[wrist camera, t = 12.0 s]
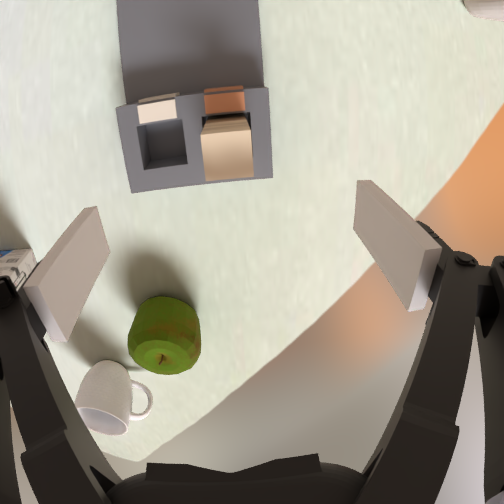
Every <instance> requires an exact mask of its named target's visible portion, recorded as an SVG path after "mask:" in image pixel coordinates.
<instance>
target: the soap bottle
mask: <svg viewBox="0 0 504 504" xmlns="http://www.w3.org/2000/svg"><path fill="white" fill-rule="evenodd" d="M464 4H465V7H466V9H467V11H468V12H469V13H470V14H471V15H473V16H475V17H478V18H483V19H489V20H497V21H504V0H464Z"/></svg>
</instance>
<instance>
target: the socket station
mask: <svg viewBox="0 0 504 504" xmlns="http://www.w3.org/2000/svg"><path fill="white" fill-rule="evenodd" d="M117 15H118V30H119V42H120V53H121V63H122V72H123V80H124V89H125V96H126V103H127V104H125V105H123V106H120V107H117V108H116V113H117V120H118V126H119V132H120V138H121V143H122V149H123V154H124V160H125V165H126V170H127V175H128V180H129V184H130V189H131V193H138V192H145V191H152V190H160V189H167V188H175V187H184V186H192V185H201V184H210V183H220V182H230V181H241V180H253V179H265V178H273V168H272V147H271V127H270V108H269V91H268V87H264V78H263V63H262V48H261V34H260V20H259V7H258V0H117ZM233 113H244V115H245V117H246V120H247V122H248V125H249V127H250V129H251V141H252V155H253V170H254V177H246V178H235V179H224V180H214V181H206V178H205V170H204V162H203V154H202V145H201V137H200V134H201V132H202V130H203V128H204V125H205V123H206V121H207V119H208V116H213V115H223V114H233Z"/></svg>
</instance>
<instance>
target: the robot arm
mask: <svg viewBox="0 0 504 504" xmlns="http://www.w3.org/2000/svg"><path fill="white" fill-rule="evenodd" d="M353 229H354V231H355V232H356V234H357V235H358V237H359V238H360V239H361V241H362V242H363V244H364V245H365V247H366V248H367V250H368V251H369V252H370V254H371V255H372V257H373V258H374V260H375V261H376V263H377V264H378V266H379V267H380V269H381V270H382V272H383V273H384V275H385V276H386V278H387V279H388V281H389V283H390V284H391V286H392V287H393V289H394V290H395V292H396V293H397V295H398V296H399V298H400V300H401V301H402V303H403V305H404V306H405V308H406V309H407V311H408V312H410V311H415V310H420V309H424V308H425V304H426V302H427V299H428V296H429V298H430V299H431V301H432V302H433V305H432V308H431V310H430V313H429V316H428V318H427V321H426V327H425V330H424V333H423V336H422V339H421V343H420V345H419V349H418V351H417V354H416V357H415V360H414V362H413V365H412V368H411V370H410V373H409V376H408V378H407V381H406V384H405V386H404V388H403V391H402V393H401V396H400V398H399V400H398V403H397V405H396V407H395V410H394V412H393V414H392V416H391V418H390V421H389V423H388V425H387V427H386V429H385V431H384V433H383V435H382V438H381V439H380V441H379V444H378V445H377V447H376V449H375V451H374V453H373V455H372V456H371V458H370V460H369V461H368V463H367V465H366V467H365V468H364V470H363V472H362V473H359V472H357V471H355V470H353V469H350V468H348V467H345V466H341V465H337V464H331V463H321V462H320V461H319V456H318V454H310V455H304V456H298V457H290V458H283V459H275V460H272V461H269V462H266V463H263V464H261V465H257V466H254V467H251V468H248V469H244V470H241V471H238V472H234V473H226V472H220V471H215V470H210V469H206V468H201V467H197V466H192V465H188V464H163V463H147V468H146V472H145V473H141V474H137V475H134V476H132V477H129V478H127V479H125V480H122V479H121V478H120V477H119V476H118V475H117V474H116V473H115V471H114V470H113V469H112V467H111V466H110V465H109V463H108V461H107V460H106V458H105V457H104V455H103V454H102V452H101V450H100V449H99V447H98V446H97V444H96V442H95V441H94V439H93V437H92V436H91V434H90V432H89V430H88V429H87V427H86V425H85V423H84V421H83V420H82V418H81V416H80V414H79V412H78V410H77V408H76V407H75V405H74V403H73V401H72V399H71V397H70V395H69V393H68V391H67V389H66V386H65V384H64V382H63V380H62V378H61V376H60V374H59V371H58V369H57V367H56V365H55V362H54V360H53V358H52V355H51V353H50V350H49V348H48V345H47V343H46V342H45V340H44V338H43V337H44V335H45V333H46V331H47V333H48V334H49V336H50V338H51V339H52V341H53V342H68V340H69V338H70V335H71V333H72V331H73V328H74V326H75V324H76V322H77V319H78V317H79V315H80V313H81V311H82V308H83V306H84V304H85V302H86V300H87V298H88V296H89V294H90V292H91V289H92V287H93V285H94V283H95V281H96V279H97V277H98V275H99V273H100V271H101V269H102V267H103V266H104V264H105V262H106V260H107V258H108V256H109V254H110V249H109V246H108V243H107V240H106V236H105V233H104V230H103V226H102V223H101V219H100V216H99V212H98V209H97V206H95V207H89V208H84V209H83V210H82V211H81V213H80V214H79V215H78V216H77V217H76V218H75V220H74V221H73V222H72V223H71V224H70V226H69V227H68V228H67V229H66V230H65V232H64V233H63V234H62V235H61V237H60V238H59V239H58V240H57V242H56V243H55V244H54V245H53V247H52V248H51V249H50V251H49V252H48V253H47V254H46V256H45V257H44V258H43V259H42V260H41V261H40V262H39V263H37V264H36V266H35V267H34V268H33V270H32V272H31V273H30V274H29V275H28V278H26V280H25V281H24V282H23V284H22V285H21V287H20V288H19V290H18V291H17V290H16V288H15V286H14V284H13V282H12V280H11V278H10V277H9V276H7V275H4V276H0V504H22V503H21V498H20V493H19V487H18V482H17V476H16V469H15V462H14V453H13V445H12V432H11V415H10V400H11V404H12V407H13V411H14V414H15V417H16V421H17V424H18V427H19V430H20V433H21V436H22V438H23V441H24V444H25V447H26V451H25V452H23V453H22V454H21V462H22V465H23V468H24V470H25V473H26V475H27V478H28V480H29V483H30V485H31V487H32V490H33V491H34V494H35V496H36V498H37V501H38V503H39V504H434V503H435V501H436V498H437V496H438V494H439V491H440V489H441V486H442V484H443V481H444V478H445V476H446V473H447V470H448V467H449V465H450V462H451V459H452V456H453V452H454V449H455V446H456V443H457V439H458V435H459V426H456V425H455V421H456V417H457V413H458V409H459V405H460V401H461V397H462V392H463V388H464V384H465V379H466V374H467V369H468V364H469V358H470V352H471V346H472V339H473V332H474V324H475V329H476V335H477V341H478V348H479V354H480V363H481V372H482V382H483V394H484V412H485V464H484V496H485V504H504V256H496V257H495V258H494V259H493V262H492V265H491V266H481V265H479V264H478V261H477V260H476V259H475V258H474V257H473V256H471V255H469V254H467V253H465V252H460V251H453V250H452V249H451V248H450V247H449V246H448V245H447V244H446V243H445V242H444V241H443V240H442V239H441V238H439V236H438V235H437V234H436V233H434V231H433V230H432V229H430V227H429V226H427V225H425V224H424V223H422V222H420V221H415V220H414V219H413V218H412V217H411V216H410V215H409V214H408V213H407V212H406V211H405V210H403V209H402V208H401V207H400V206H399V205H398V204H397V203H396V202H395V201H394V200H393V199H392V198H390V197H389V196H388V195H387V194H386V193H385V192H384V191H383V190H382V189H380V188H379V187H378V186H377V185H376V184H375V183H374V182H372V181H371V180H358V181H357V190H356V204H355V216H354V227H353Z"/></svg>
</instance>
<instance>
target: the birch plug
mask: <svg viewBox="0 0 504 504" xmlns="http://www.w3.org/2000/svg"><path fill="white" fill-rule="evenodd" d="M200 137H201V145H202V154H203V162H204V170H205V178H206V181H214V180H224V179H235V178H246V177H254V170H253V155H252V141H251V129H250V127H249V125H248V122H247V120H246V117H245V115H244V113H233V114H223V115H213V116H208V119H207V121H206V123H205V125H204V128H203V130H202V132H201V134H200Z"/></svg>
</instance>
